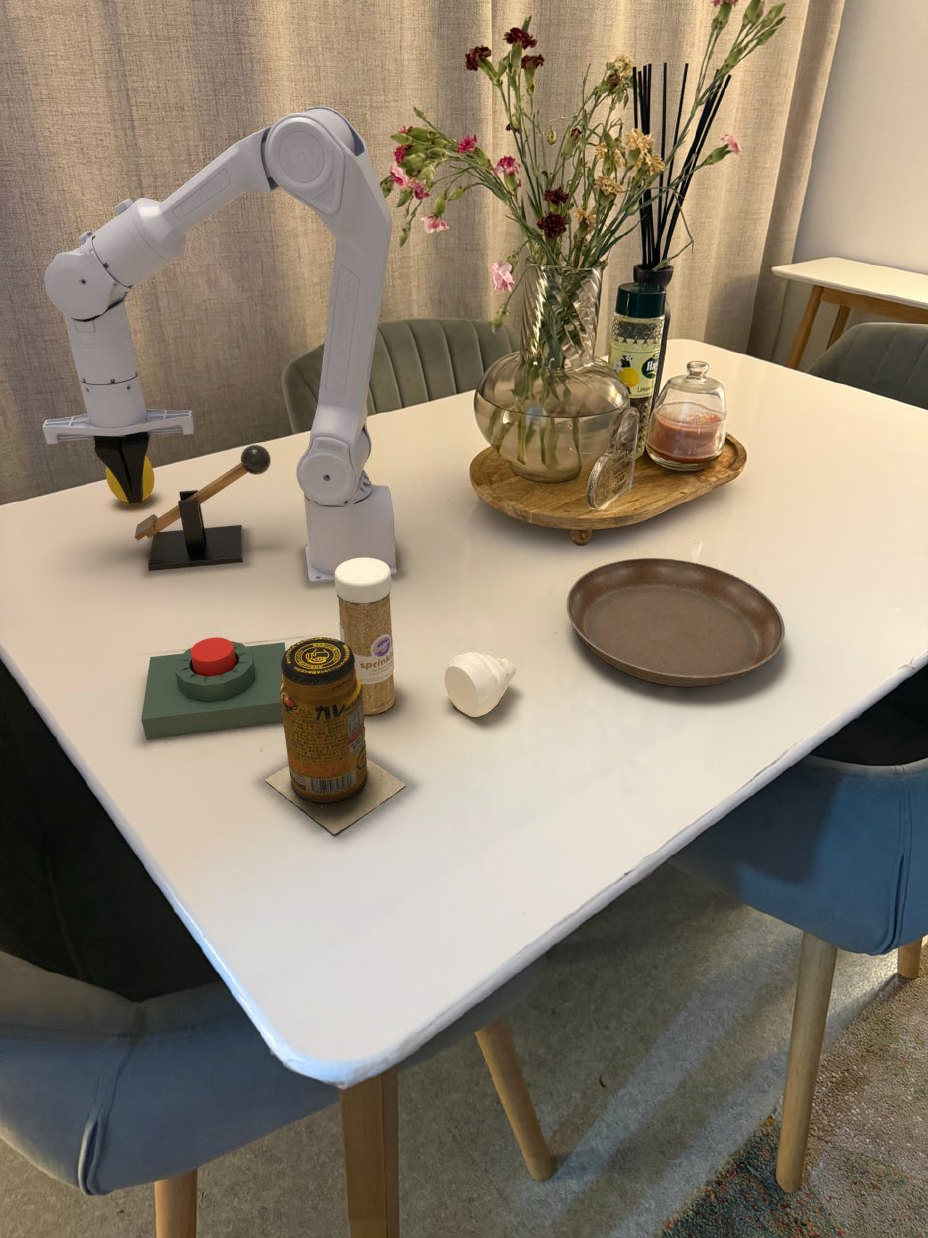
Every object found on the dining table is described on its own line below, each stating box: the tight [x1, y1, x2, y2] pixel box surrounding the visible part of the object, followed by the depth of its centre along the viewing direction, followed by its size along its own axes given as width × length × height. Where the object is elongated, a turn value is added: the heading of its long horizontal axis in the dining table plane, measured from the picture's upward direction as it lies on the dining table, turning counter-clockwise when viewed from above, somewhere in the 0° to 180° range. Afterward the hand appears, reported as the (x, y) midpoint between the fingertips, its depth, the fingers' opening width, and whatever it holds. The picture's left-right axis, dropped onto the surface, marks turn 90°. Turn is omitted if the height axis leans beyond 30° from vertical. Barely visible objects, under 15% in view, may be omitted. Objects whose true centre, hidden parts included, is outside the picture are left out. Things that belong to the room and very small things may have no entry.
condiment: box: [264, 636, 407, 835], centre depth 66 cm, size 7×8×12 cm
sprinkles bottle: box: [334, 558, 397, 715], centre depth 75 cm, size 5×5×14 cm
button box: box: [141, 640, 287, 740], centre depth 78 cm, size 12×9×4 cm
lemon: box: [105, 454, 155, 506], centre depth 109 cm, size 6×6×8 cm
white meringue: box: [444, 651, 517, 718], centre depth 77 cm, size 6×6×5 cm
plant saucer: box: [566, 557, 786, 688], centre depth 86 cm, size 21×21×3 cm
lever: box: [134, 444, 272, 541], centre depth 98 cm, size 17×3×3 cm
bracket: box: [147, 489, 244, 572], centre depth 99 cm, size 10×8×7 cm
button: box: [190, 636, 236, 677], centre depth 76 cm, size 4×4×2 cm
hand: (136, 499), depth 96 cm, fingers closed
